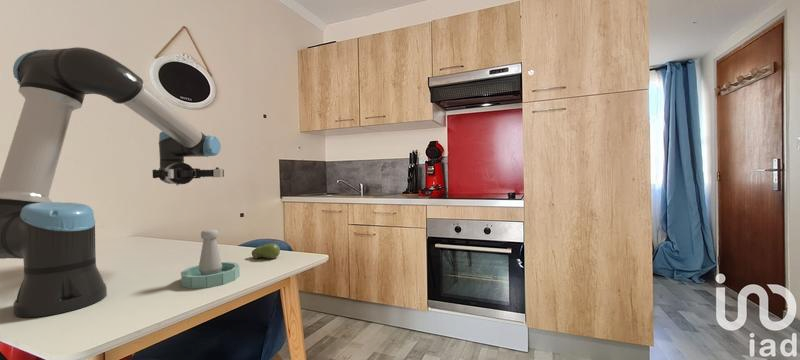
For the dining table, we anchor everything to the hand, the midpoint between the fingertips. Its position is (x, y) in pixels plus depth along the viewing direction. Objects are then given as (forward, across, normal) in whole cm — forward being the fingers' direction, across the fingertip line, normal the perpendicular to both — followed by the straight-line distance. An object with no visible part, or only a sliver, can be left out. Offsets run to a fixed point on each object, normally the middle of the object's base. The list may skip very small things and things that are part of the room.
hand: (198, 173), depth 102 cm
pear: (+3, -20, -30) cm, 36 cm away
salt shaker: (+14, +1, -29) cm, 32 cm away
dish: (+14, +1, -30) cm, 33 cm away
